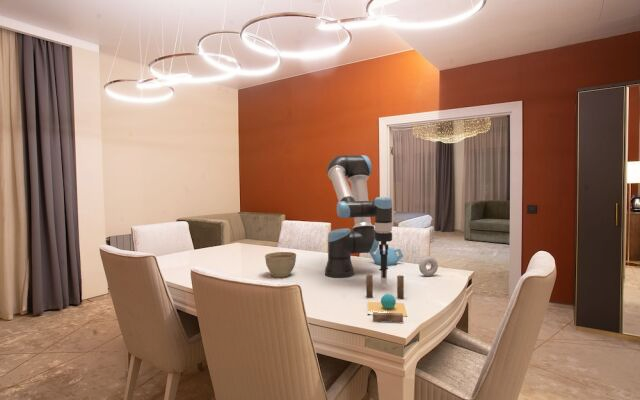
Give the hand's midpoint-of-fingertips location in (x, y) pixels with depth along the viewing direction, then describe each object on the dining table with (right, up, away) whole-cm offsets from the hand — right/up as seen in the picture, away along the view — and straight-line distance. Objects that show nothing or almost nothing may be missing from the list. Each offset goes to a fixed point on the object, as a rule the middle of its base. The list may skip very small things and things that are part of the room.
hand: (383, 284), depth 164 cm
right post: (+4, -3, -14) cm, 15 cm away
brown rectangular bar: (-5, -4, -38) cm, 39 cm away
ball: (-3, 0, -26) cm, 27 cm away
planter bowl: (-49, -2, +26) cm, 55 cm away
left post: (-8, -3, -12) cm, 15 cm away
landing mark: (-4, -3, -27) cm, 27 cm away
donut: (+26, -1, +21) cm, 33 cm away
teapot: (+10, 0, +51) cm, 52 cm away
